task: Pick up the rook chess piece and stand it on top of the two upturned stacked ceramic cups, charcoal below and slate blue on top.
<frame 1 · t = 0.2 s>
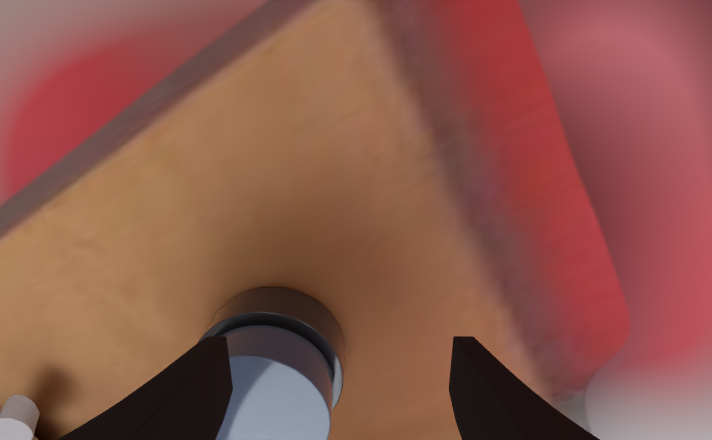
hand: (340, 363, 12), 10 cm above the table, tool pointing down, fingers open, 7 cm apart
bunny figurine: (18, 438, 26), on the table
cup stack: (277, 347, 23), on the table
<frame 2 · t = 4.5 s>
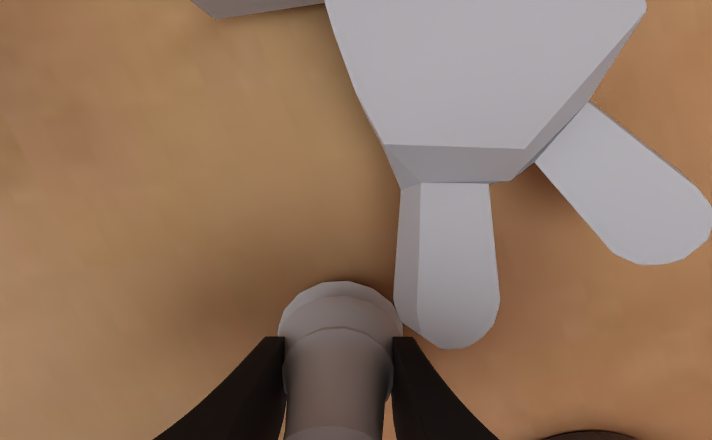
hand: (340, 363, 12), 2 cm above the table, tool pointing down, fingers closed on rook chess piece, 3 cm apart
rook chess piece: (341, 326, 14), on the table, touching gripper
bunny figurine: (416, 30, 11), on the table
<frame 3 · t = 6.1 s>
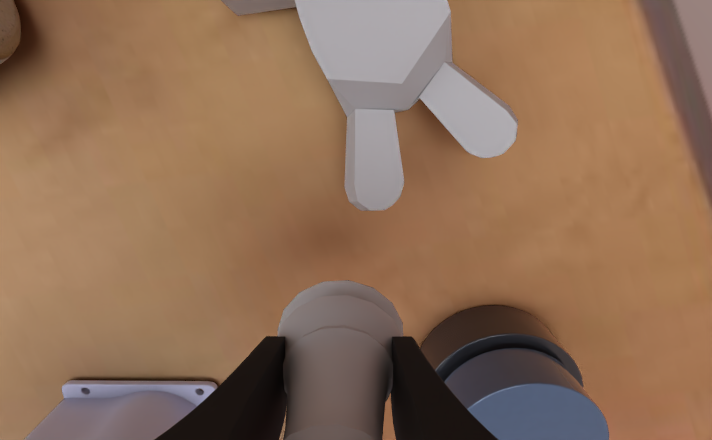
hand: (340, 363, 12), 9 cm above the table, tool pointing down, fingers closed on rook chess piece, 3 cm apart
rook chess piece: (341, 325, 14), point 7 cm above the table, touching gripper
bunny figurine: (362, 23, 17), on the table
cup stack: (485, 366, 23), on the table
when the fingers open (8 cm above the table, at t = 8.1 s): rook chess piece stays where it is, resting on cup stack.
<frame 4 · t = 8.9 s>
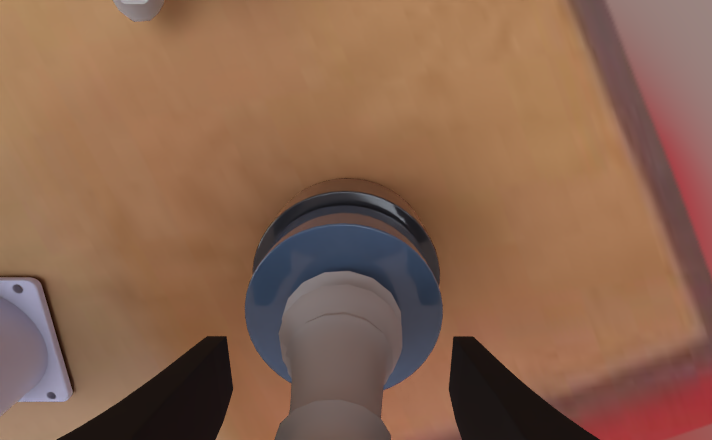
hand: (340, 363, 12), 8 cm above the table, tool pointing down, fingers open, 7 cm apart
rook chess piece: (342, 315, 14), point 6 cm above the table, touching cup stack
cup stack: (347, 258, 20), on the table, touching rook chess piece
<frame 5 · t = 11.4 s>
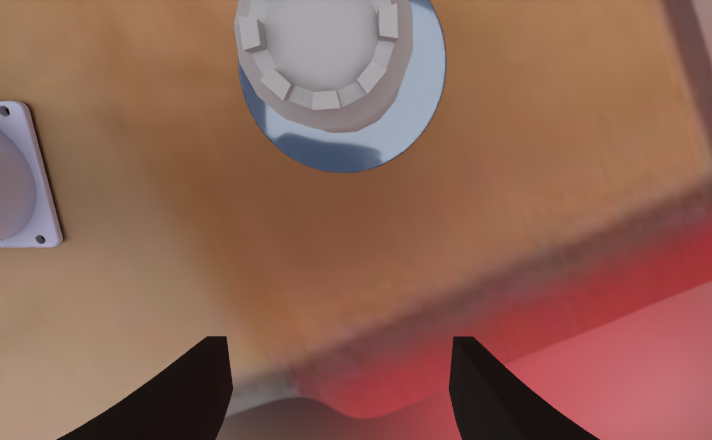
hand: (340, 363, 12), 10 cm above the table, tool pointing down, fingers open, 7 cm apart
rook chess piece: (341, 70, 14), point 6 cm above the table, touching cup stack
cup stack: (346, 79, 19), on the table, touching rook chess piece
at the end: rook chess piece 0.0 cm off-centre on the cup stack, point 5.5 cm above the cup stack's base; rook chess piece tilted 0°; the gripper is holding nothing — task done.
